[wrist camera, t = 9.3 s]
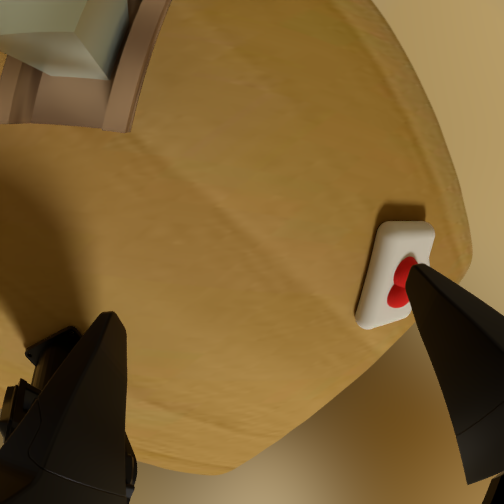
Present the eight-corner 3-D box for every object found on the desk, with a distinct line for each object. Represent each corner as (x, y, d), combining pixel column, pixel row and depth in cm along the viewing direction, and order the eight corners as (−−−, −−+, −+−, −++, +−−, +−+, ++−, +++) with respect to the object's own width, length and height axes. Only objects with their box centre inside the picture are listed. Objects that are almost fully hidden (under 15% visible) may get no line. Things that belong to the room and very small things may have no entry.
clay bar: (109, 80, 14) (74, 32, 5) (51, 76, 12) (-27, 39, 4) (129, 22, 12) (124, -66, 4) (71, 18, 11) (23, -58, 2)
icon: (426, 323, 31) (370, 344, 28) (404, 306, 35) (347, 321, 32) (458, 230, 27) (405, 233, 23) (430, 217, 30) (374, 217, 27)
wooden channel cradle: (130, 131, 17) (125, 133, 13) (21, 122, 13) (-10, 124, 9) (172, -3, 13) (183, -35, 9) (65, -11, 10) (50, -41, 6)
